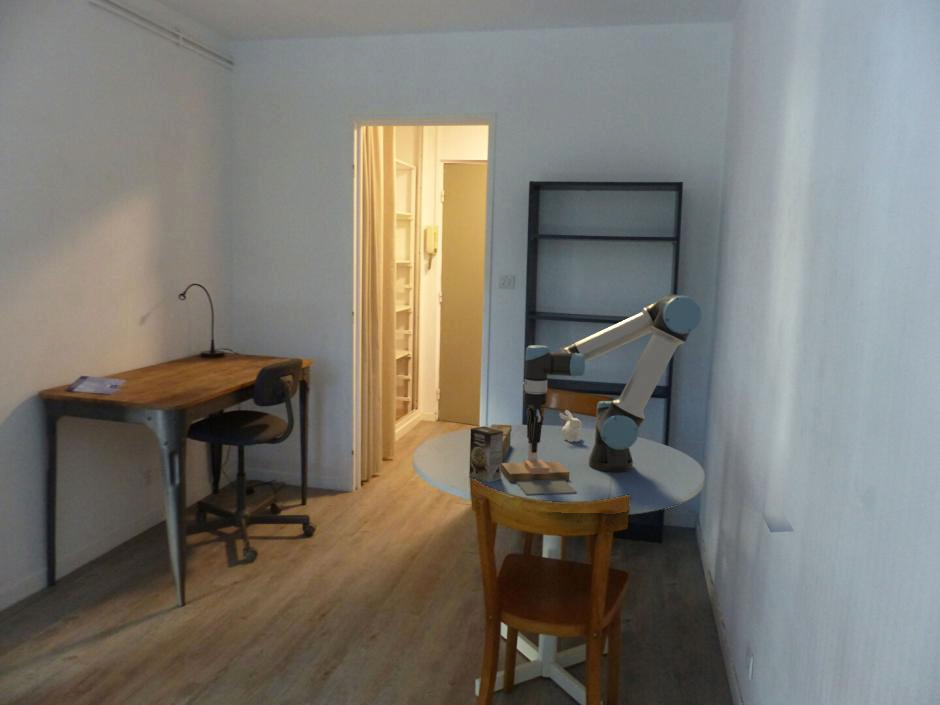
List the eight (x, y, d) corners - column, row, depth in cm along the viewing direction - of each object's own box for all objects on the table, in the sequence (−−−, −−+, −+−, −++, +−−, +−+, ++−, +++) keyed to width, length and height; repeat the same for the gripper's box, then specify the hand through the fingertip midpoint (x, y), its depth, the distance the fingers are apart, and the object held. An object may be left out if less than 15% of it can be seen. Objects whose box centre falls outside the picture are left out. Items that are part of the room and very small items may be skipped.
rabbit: (582, 443, 275) (584, 413, 274) (558, 442, 276) (560, 413, 274) (579, 436, 287) (580, 407, 286) (556, 435, 288) (557, 406, 286)
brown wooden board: (557, 469, 239) (558, 461, 239) (569, 479, 227) (569, 472, 227) (501, 470, 236) (501, 463, 235) (509, 481, 224) (509, 473, 224)
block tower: (500, 467, 243) (511, 444, 271) (501, 444, 242) (512, 423, 270) (478, 466, 244) (491, 443, 273) (479, 442, 243) (492, 422, 271)
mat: (563, 480, 227) (563, 479, 227) (576, 493, 214) (576, 492, 214) (515, 481, 224) (516, 480, 224) (526, 495, 211) (526, 493, 211)
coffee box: (468, 476, 228) (469, 428, 226) (482, 472, 233) (483, 425, 231) (488, 483, 222) (489, 433, 220) (502, 479, 226) (503, 430, 224)
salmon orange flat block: (524, 466, 233) (524, 460, 232) (541, 465, 234) (541, 459, 233) (531, 474, 224) (531, 468, 223) (549, 473, 225) (549, 467, 224)
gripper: (519, 388, 236) (517, 456, 239) (529, 395, 224) (526, 467, 227) (541, 388, 238) (538, 455, 241) (551, 395, 225) (548, 466, 228)
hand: (532, 461), depth 234 cm, fingers closed
